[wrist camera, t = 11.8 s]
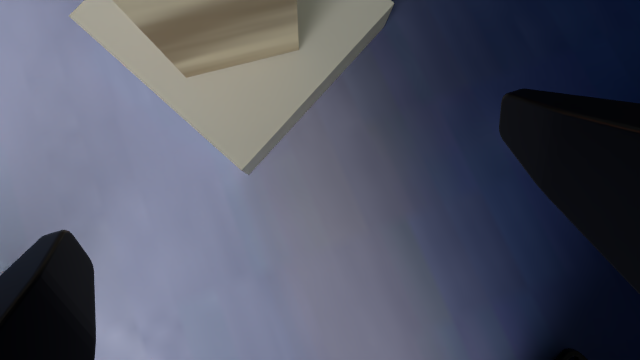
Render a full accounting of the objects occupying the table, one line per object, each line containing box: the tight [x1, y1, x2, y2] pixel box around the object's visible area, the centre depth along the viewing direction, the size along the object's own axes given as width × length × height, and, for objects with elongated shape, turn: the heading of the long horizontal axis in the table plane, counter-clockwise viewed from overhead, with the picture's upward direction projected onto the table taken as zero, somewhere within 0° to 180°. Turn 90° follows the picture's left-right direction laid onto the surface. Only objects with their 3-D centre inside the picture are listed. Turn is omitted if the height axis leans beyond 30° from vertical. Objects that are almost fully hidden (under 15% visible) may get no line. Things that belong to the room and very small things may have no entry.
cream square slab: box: [69, 0, 394, 175], centre depth 20 cm, size 10×10×3 cm
